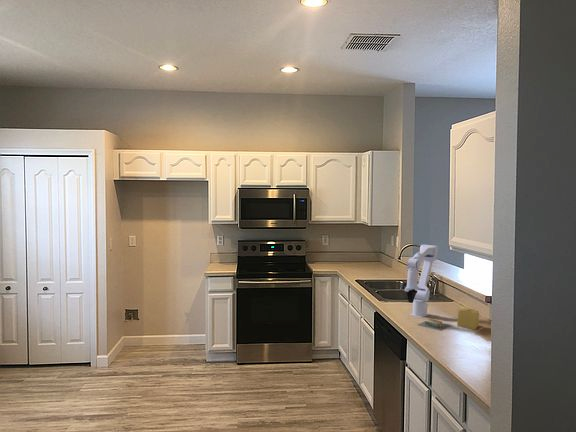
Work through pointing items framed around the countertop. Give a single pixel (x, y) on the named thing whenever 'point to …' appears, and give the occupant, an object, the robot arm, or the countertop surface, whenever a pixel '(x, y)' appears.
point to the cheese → (468, 318)
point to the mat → (436, 328)
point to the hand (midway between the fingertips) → (410, 302)
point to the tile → (433, 323)
